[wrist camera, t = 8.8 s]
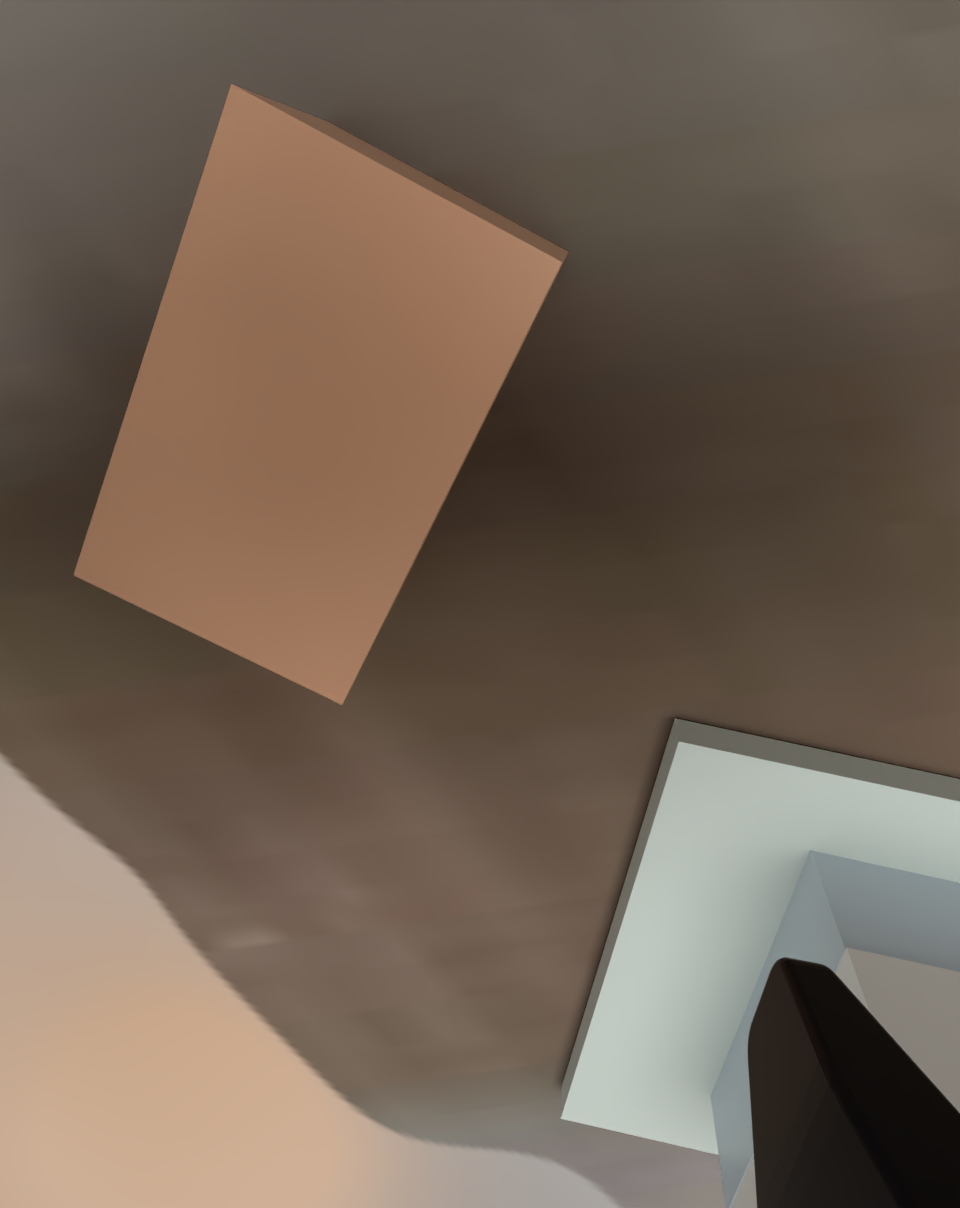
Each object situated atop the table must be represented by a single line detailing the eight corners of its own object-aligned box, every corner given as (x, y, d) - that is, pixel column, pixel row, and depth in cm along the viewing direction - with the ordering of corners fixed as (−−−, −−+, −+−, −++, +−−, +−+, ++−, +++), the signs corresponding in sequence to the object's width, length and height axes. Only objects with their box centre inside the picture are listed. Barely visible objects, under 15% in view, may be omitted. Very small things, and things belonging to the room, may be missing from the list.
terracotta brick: (569, 252, 17) (561, 262, 12) (397, 595, 20) (342, 705, 16) (329, 121, 17) (231, 83, 12) (192, 493, 20) (73, 575, 15)
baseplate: (1210, 832, 20) (1350, 968, 16) (992, 1184, 25) (1062, 1351, 21) (675, 718, 20) (693, 826, 17) (561, 1085, 25) (556, 1232, 21)
